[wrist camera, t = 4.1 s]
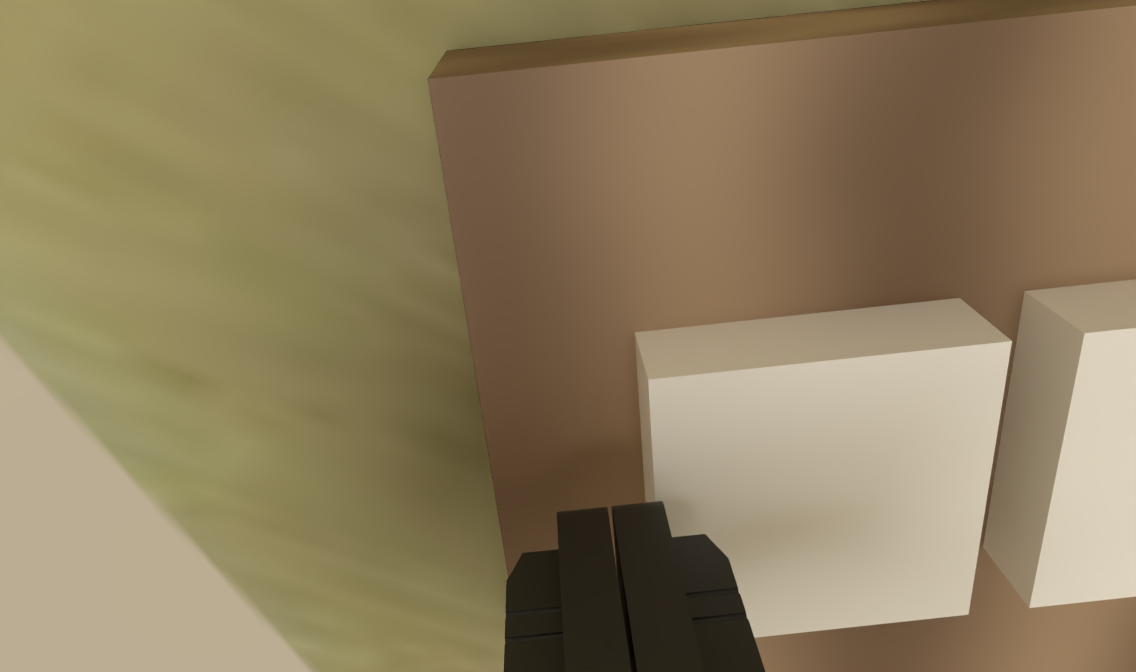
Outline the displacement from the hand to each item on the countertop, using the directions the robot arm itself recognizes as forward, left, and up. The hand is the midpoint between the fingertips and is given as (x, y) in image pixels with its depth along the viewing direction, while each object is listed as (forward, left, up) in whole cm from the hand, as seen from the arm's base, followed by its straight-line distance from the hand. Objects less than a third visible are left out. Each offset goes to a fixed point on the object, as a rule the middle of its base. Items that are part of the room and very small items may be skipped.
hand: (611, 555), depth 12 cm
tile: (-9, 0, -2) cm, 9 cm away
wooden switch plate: (-5, 0, -5) cm, 8 cm away
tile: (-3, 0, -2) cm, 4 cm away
